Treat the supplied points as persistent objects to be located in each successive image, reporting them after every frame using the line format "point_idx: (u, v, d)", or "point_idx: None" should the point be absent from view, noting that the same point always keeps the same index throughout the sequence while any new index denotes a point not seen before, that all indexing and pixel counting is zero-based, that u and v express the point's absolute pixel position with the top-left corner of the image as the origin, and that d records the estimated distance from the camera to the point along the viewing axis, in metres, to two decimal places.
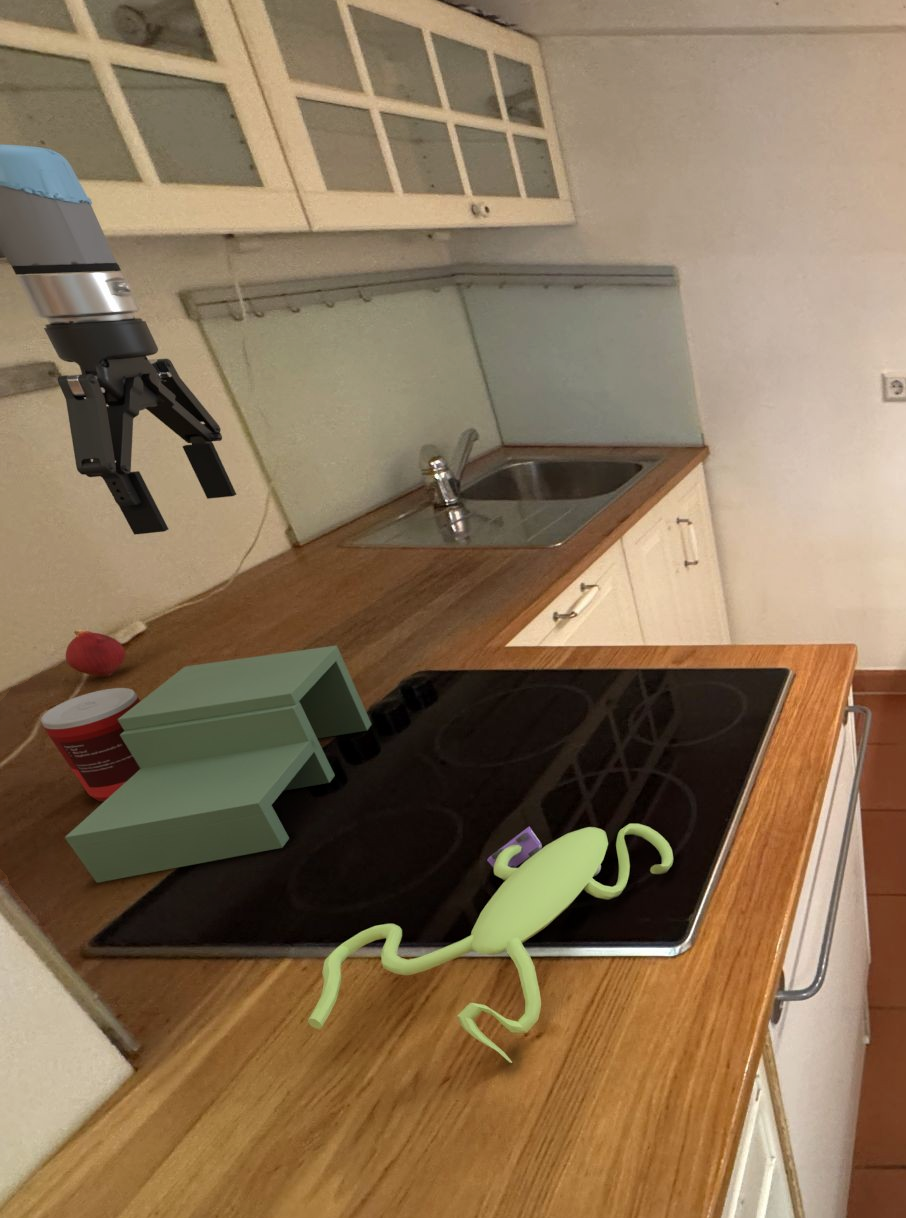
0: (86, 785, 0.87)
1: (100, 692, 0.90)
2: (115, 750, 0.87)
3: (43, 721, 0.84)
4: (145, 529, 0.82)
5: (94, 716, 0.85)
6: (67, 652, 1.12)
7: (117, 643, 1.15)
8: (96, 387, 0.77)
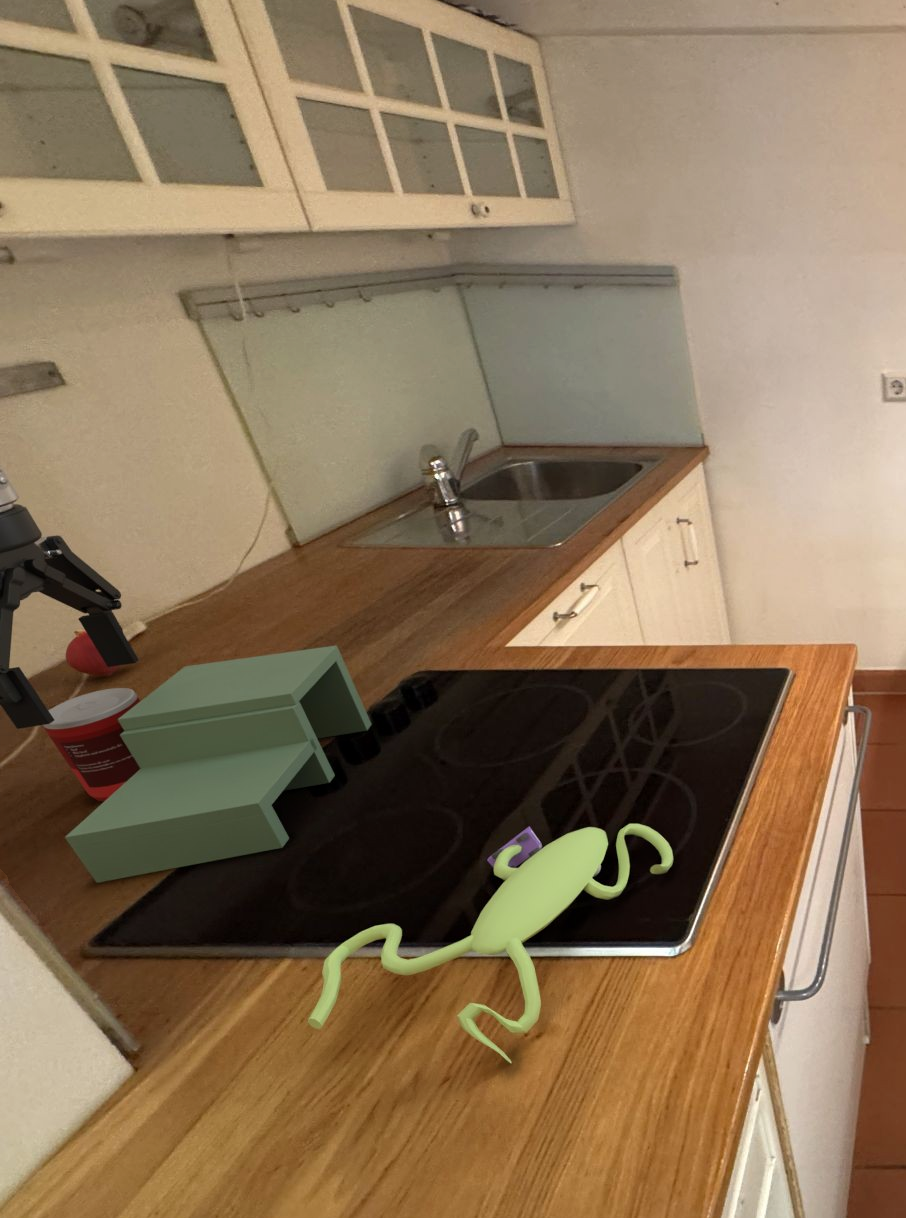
0: (86, 785, 0.87)
1: (100, 692, 0.90)
2: (115, 750, 0.87)
3: None
4: (28, 723, 0.80)
5: (94, 716, 0.85)
6: (67, 652, 1.12)
7: None
8: None
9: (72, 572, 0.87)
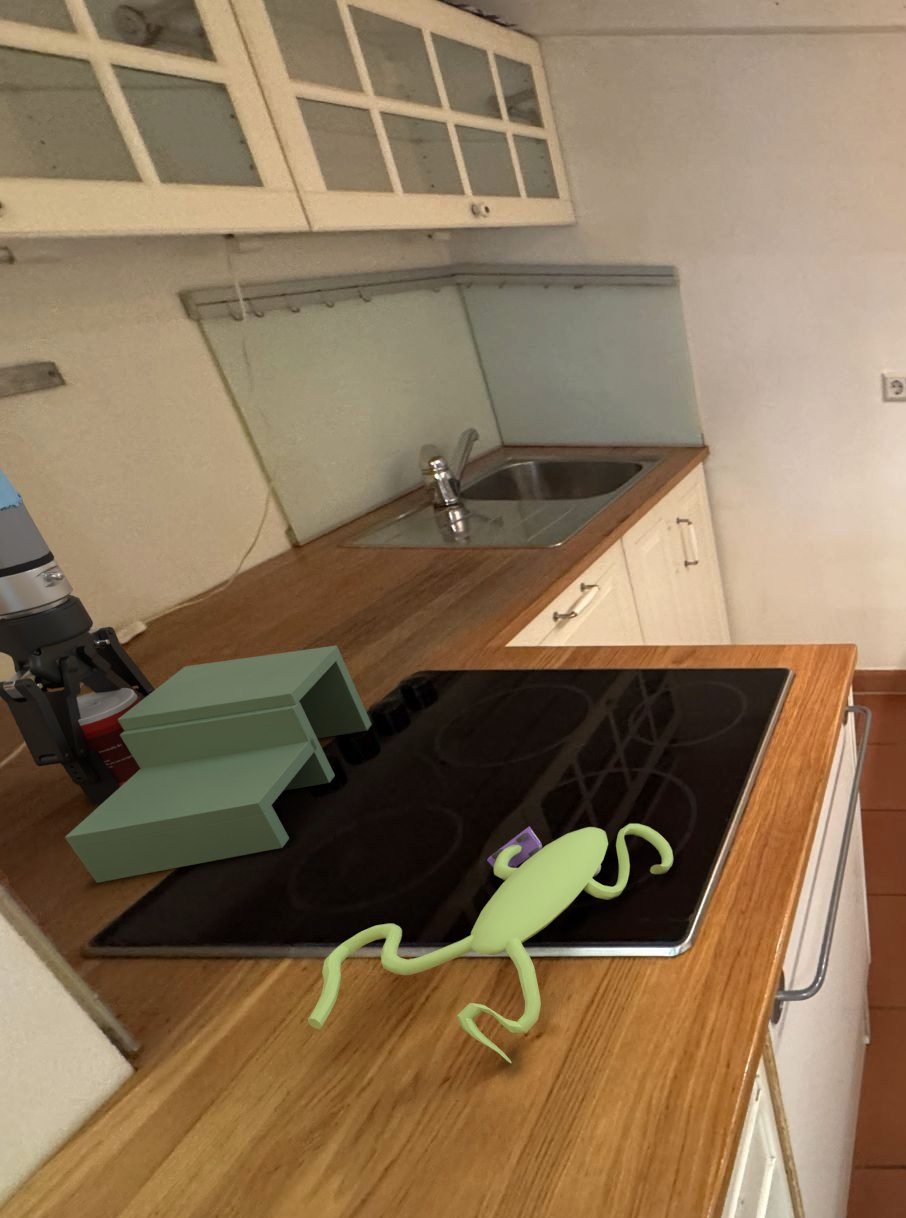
0: None
1: None
2: (115, 750, 0.87)
3: None
4: (102, 799, 0.87)
5: (94, 716, 0.85)
6: None
7: None
8: (34, 688, 0.80)
9: (115, 664, 0.91)
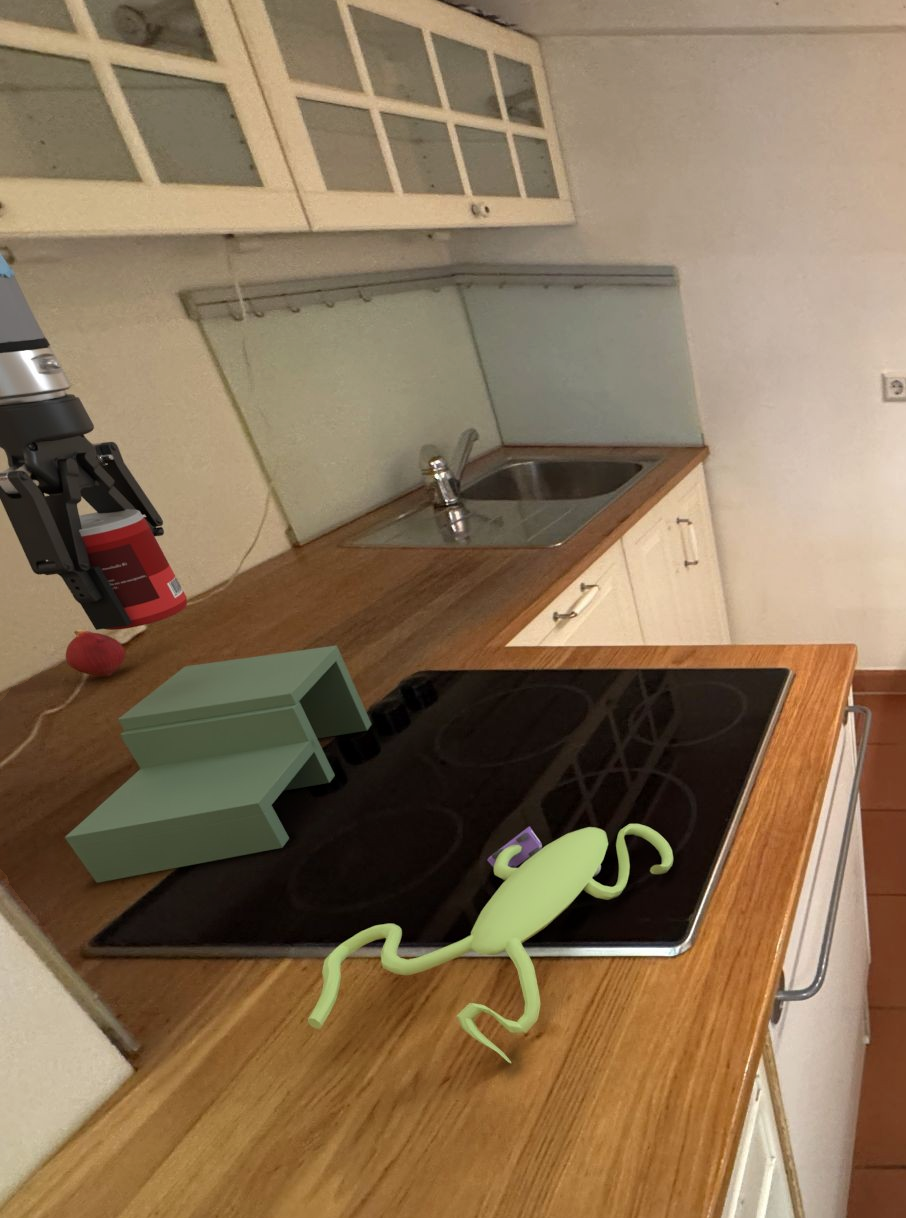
0: None
1: (103, 513, 0.82)
2: (120, 569, 0.79)
3: None
4: (107, 624, 0.80)
5: (96, 527, 0.77)
6: (67, 652, 1.12)
7: (117, 643, 1.15)
8: (29, 483, 0.72)
9: (119, 485, 0.83)
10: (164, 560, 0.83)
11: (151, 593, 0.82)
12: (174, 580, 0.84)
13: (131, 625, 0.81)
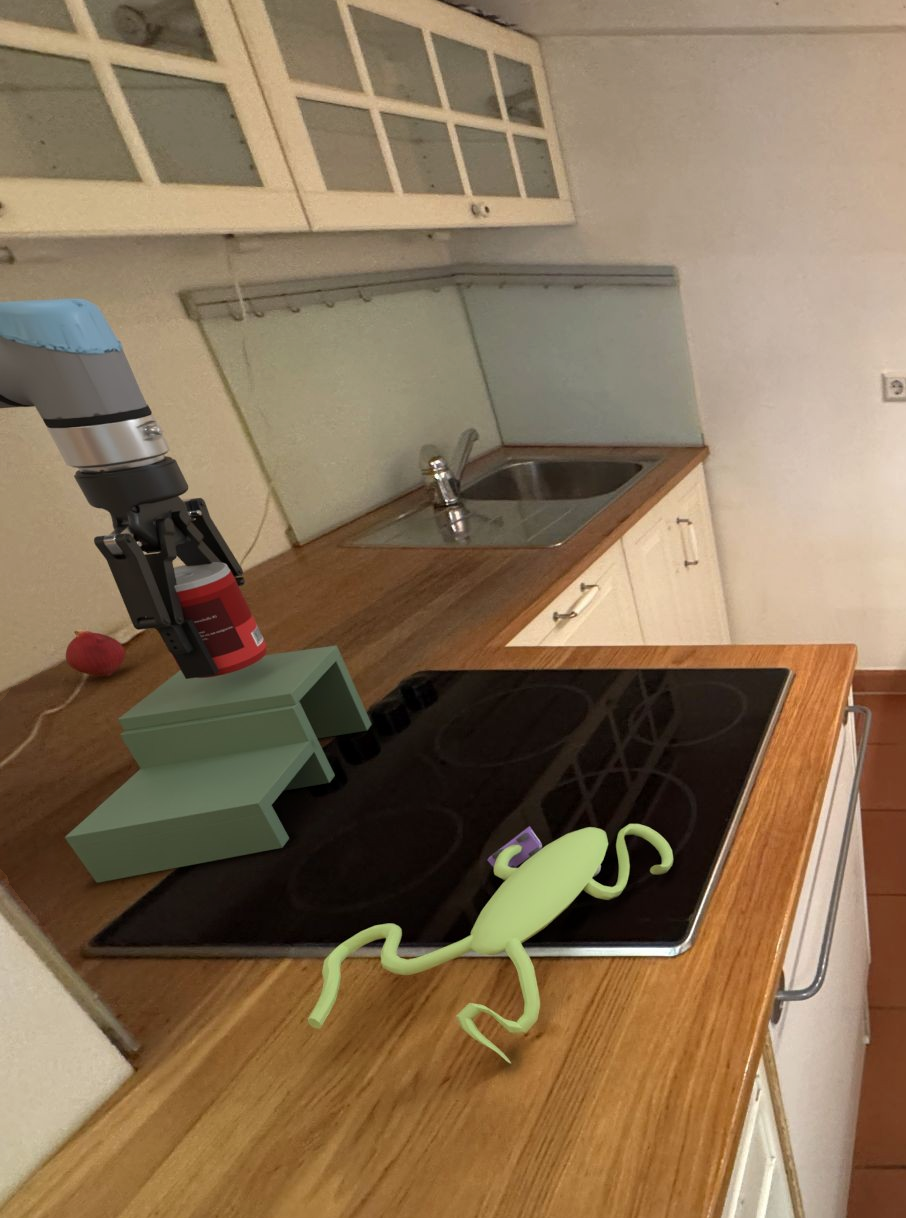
0: None
1: None
2: (210, 621, 0.83)
3: None
4: (196, 673, 0.84)
5: (190, 583, 0.81)
6: (67, 652, 1.12)
7: (117, 643, 1.15)
8: (134, 545, 0.76)
9: (205, 538, 0.87)
10: (248, 610, 0.87)
11: (237, 643, 0.86)
12: (256, 629, 0.88)
13: (218, 673, 0.85)
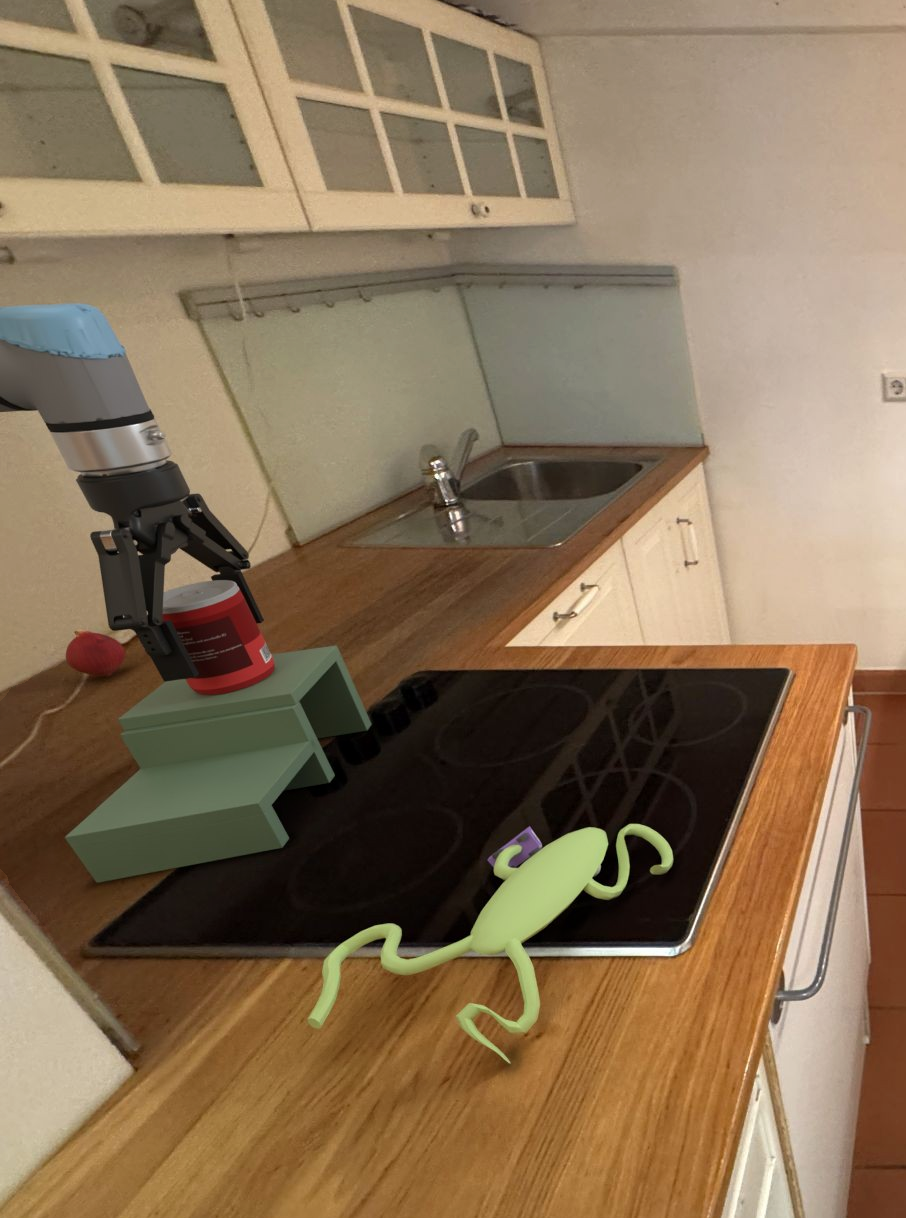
0: None
1: (201, 583, 0.87)
2: (220, 639, 0.84)
3: None
4: (175, 676, 0.81)
5: (200, 602, 0.82)
6: (67, 652, 1.12)
7: (117, 643, 1.15)
8: (129, 541, 0.76)
9: (208, 530, 0.88)
10: (256, 628, 0.88)
11: (246, 661, 0.87)
12: (265, 646, 0.89)
13: (227, 691, 0.86)
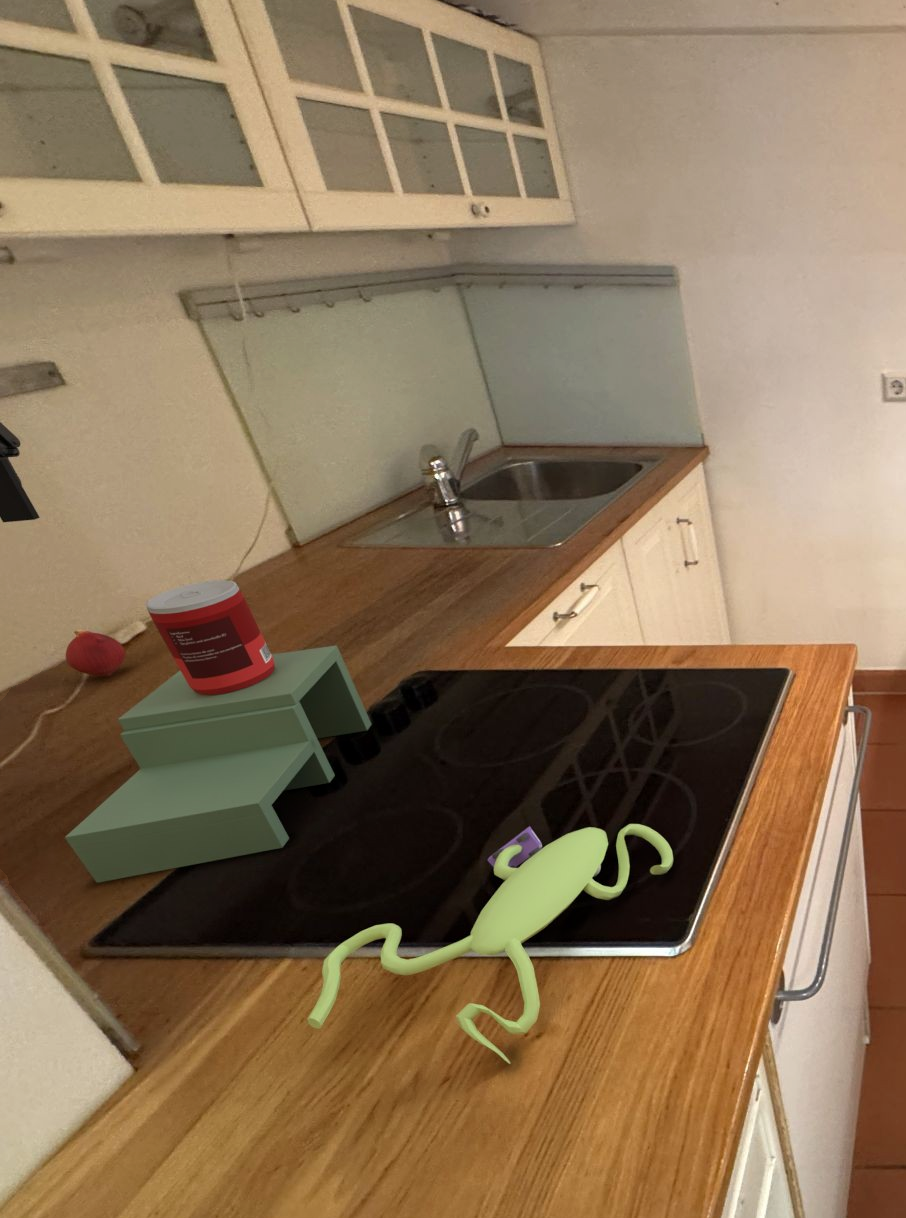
0: (189, 676, 0.85)
1: (201, 583, 0.87)
2: (220, 639, 0.84)
3: (149, 606, 0.82)
4: None
5: (200, 602, 0.82)
6: (67, 652, 1.12)
7: (117, 643, 1.15)
8: None
9: None
10: (256, 628, 0.88)
11: (246, 661, 0.87)
12: (265, 646, 0.89)
13: (227, 691, 0.86)
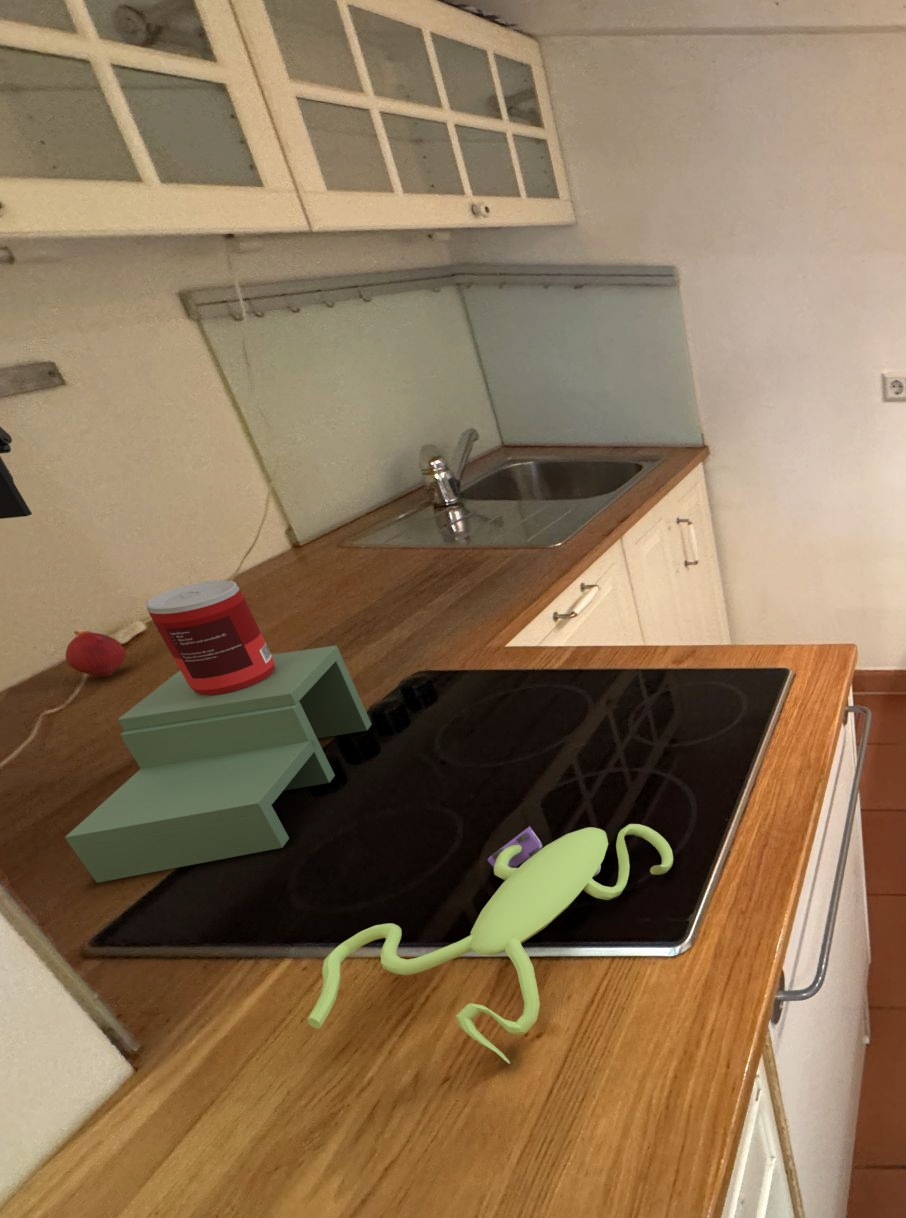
0: (189, 676, 0.85)
1: (201, 583, 0.87)
2: (220, 639, 0.84)
3: (149, 606, 0.82)
4: None
5: (200, 602, 0.82)
6: (67, 652, 1.12)
7: (117, 643, 1.15)
8: None
9: None
10: (256, 628, 0.88)
11: (246, 661, 0.87)
12: (265, 646, 0.89)
13: (227, 691, 0.86)
